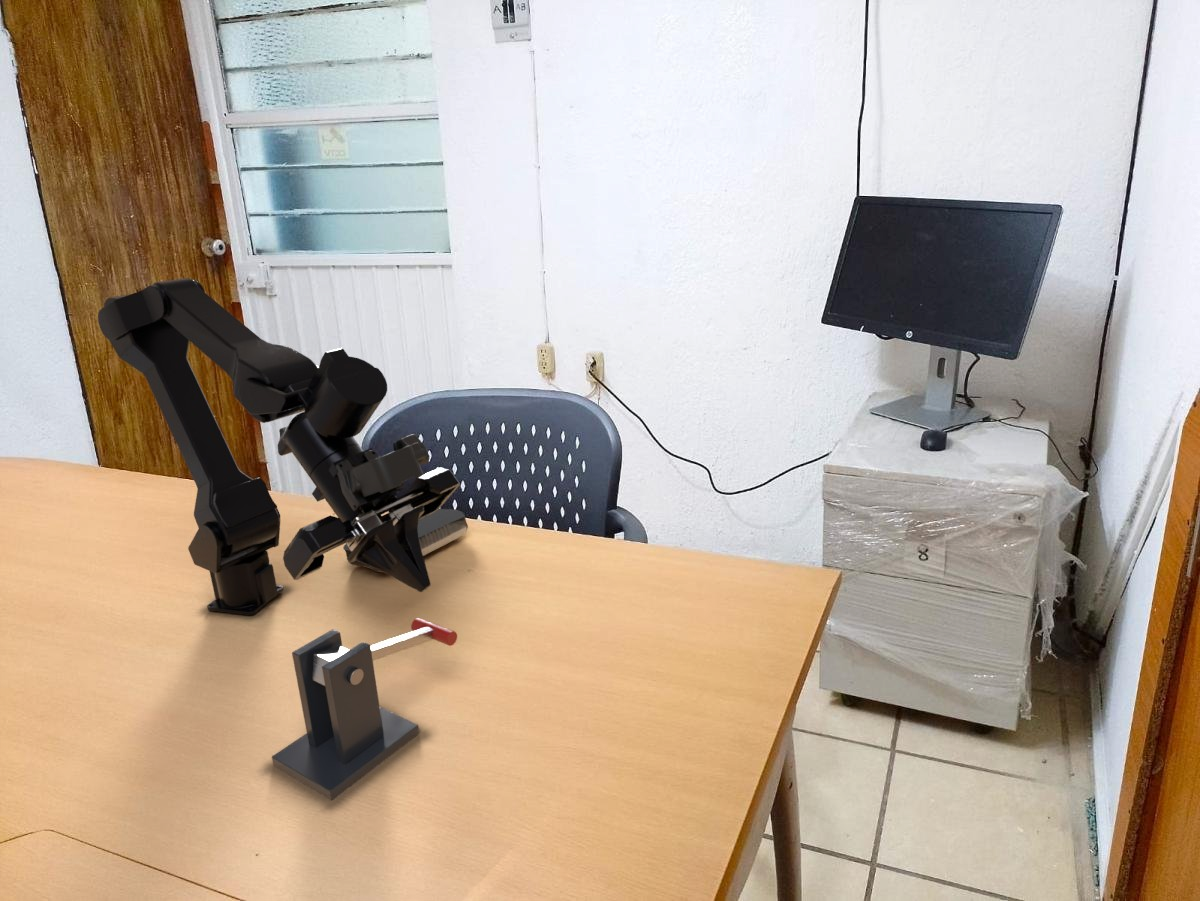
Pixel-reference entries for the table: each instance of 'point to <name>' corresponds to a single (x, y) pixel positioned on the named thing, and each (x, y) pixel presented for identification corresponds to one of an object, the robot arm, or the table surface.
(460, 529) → the whiteboard eraser
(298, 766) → the bracket
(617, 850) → the table surface
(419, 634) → the lever
